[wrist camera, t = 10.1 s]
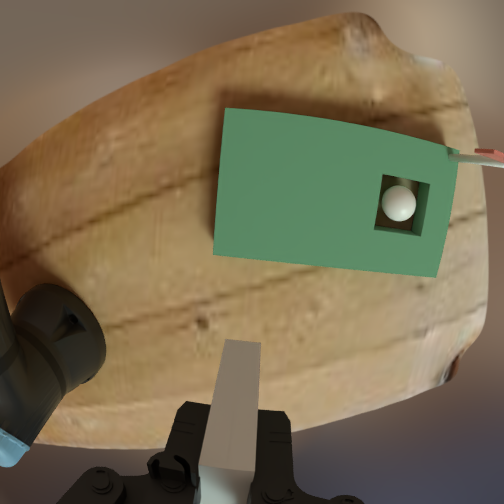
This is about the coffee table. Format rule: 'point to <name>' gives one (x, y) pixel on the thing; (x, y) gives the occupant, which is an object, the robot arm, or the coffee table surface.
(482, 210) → the coffee table surface
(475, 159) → the pin
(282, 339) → the coffee table surface
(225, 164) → the green
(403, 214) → the ball
